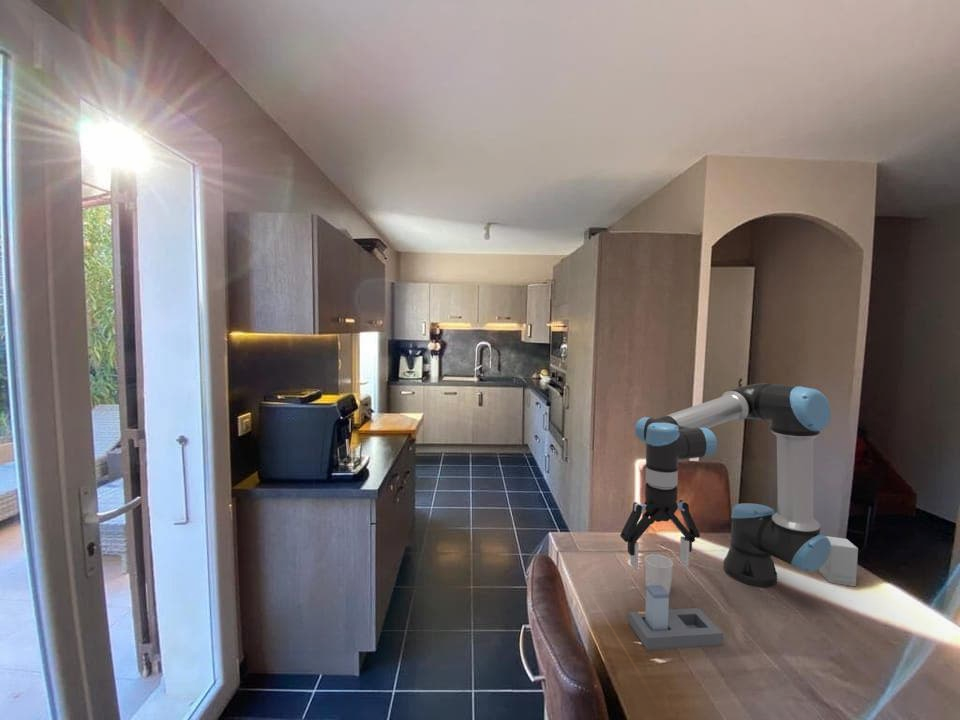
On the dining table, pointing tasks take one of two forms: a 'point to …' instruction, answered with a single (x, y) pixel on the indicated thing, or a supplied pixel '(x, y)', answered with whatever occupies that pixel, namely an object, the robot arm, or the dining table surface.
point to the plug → (656, 608)
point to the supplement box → (841, 562)
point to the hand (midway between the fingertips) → (659, 565)
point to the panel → (677, 630)
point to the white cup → (658, 571)
